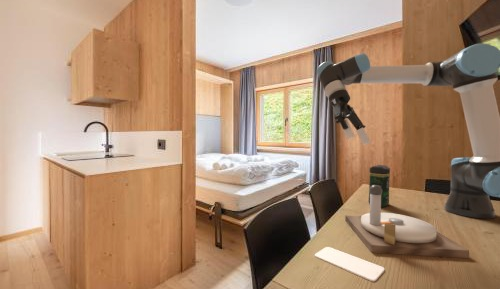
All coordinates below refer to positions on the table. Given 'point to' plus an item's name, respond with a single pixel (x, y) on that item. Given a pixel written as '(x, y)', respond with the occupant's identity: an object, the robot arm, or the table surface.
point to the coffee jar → (380, 181)
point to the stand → (389, 245)
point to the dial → (395, 222)
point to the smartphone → (351, 263)
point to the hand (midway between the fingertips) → (359, 140)
